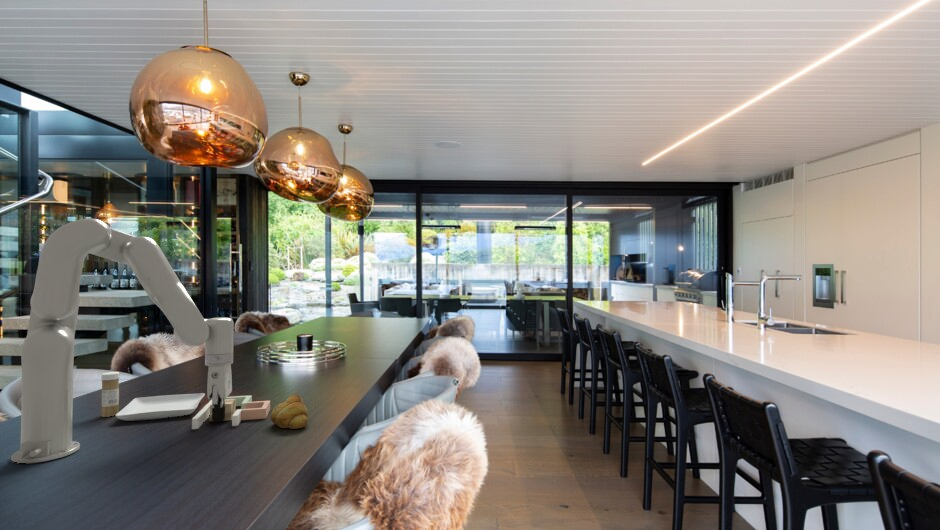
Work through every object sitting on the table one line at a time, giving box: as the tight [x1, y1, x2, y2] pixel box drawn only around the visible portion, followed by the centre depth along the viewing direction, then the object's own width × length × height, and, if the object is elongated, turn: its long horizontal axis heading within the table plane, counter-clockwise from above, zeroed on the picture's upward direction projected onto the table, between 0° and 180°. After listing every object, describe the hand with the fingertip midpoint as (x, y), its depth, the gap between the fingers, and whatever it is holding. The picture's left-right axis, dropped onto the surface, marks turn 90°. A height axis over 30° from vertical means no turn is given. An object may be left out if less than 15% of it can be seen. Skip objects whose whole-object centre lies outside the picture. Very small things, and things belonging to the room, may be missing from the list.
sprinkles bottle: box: [100, 371, 120, 418], centre depth 149 cm, size 5×5×13 cm
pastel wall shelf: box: [191, 395, 271, 430], centre depth 150 cm, size 24×19×3 cm
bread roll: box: [270, 394, 309, 430], centre depth 139 cm, size 13×10×8 cm
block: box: [209, 399, 237, 422], centre depth 146 cm, size 6×6×5 cm
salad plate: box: [114, 392, 206, 422], centre depth 153 cm, size 21×21×3 cm
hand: (218, 420), depth 141 cm, fingers closed
